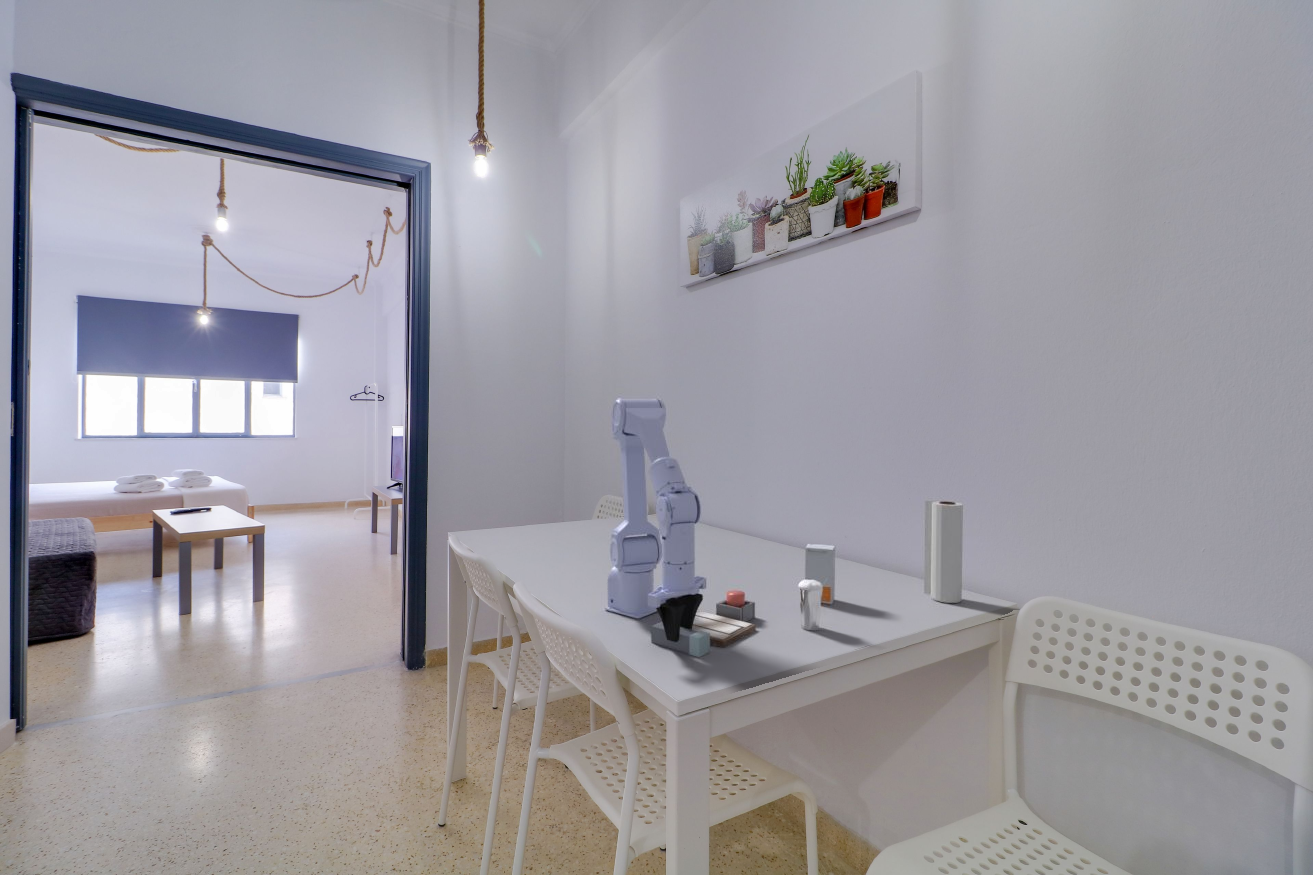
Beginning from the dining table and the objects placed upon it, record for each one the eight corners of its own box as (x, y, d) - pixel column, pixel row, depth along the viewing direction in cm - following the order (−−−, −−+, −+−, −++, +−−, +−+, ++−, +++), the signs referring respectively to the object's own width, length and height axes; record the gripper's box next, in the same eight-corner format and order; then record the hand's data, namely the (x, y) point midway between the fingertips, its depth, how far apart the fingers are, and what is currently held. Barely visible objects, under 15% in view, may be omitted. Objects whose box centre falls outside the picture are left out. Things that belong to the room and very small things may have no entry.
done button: (723, 608, 120) (723, 593, 120) (732, 603, 123) (732, 589, 123) (738, 611, 118) (738, 596, 118) (748, 607, 121) (748, 592, 121)
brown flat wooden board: (665, 630, 114) (665, 624, 113) (699, 615, 122) (699, 609, 122) (723, 647, 105) (723, 640, 105) (755, 629, 114) (755, 623, 114)
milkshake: (822, 634, 111) (823, 581, 111) (794, 629, 114) (794, 576, 114) (829, 627, 115) (830, 575, 115) (802, 622, 118) (802, 571, 118)
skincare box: (804, 601, 131) (804, 547, 130) (807, 596, 135) (807, 543, 134) (833, 604, 128) (833, 549, 128) (835, 599, 132) (835, 545, 132)
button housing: (716, 618, 120) (716, 603, 120) (731, 611, 125) (731, 596, 125) (740, 624, 117) (740, 609, 117) (755, 616, 121) (755, 602, 121)
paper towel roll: (966, 604, 129) (968, 504, 128) (937, 603, 129) (939, 504, 128) (951, 593, 136) (952, 499, 135) (924, 593, 136) (925, 499, 135)
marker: (646, 641, 108) (646, 623, 108) (657, 636, 111) (657, 618, 111) (699, 657, 101) (699, 638, 101) (709, 651, 104) (709, 632, 104)
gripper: (671, 572, 97) (671, 655, 98) (720, 556, 108) (720, 630, 109) (638, 566, 102) (638, 645, 102) (688, 550, 113) (688, 622, 113)
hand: (678, 637), depth 106 cm, fingers closed on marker, 3 cm apart
